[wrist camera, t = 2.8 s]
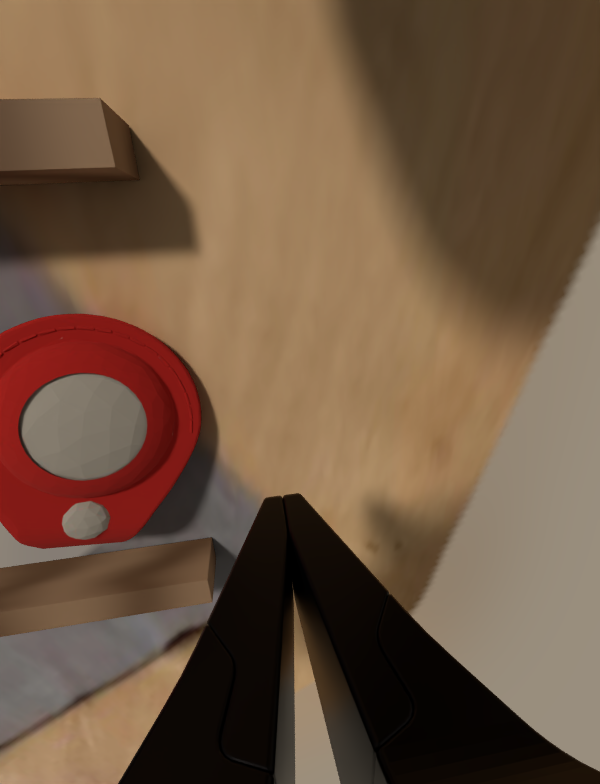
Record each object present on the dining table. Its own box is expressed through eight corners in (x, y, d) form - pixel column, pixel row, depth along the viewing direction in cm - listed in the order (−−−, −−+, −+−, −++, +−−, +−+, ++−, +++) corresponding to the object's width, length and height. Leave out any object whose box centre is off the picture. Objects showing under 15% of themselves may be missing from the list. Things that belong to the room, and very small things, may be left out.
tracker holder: (219, 320, 13) (194, 564, 15) (200, 319, 17) (182, 512, 19) (-308, 242, 8) (-269, 627, 10) (-163, 266, 12) (-151, 537, 14)
